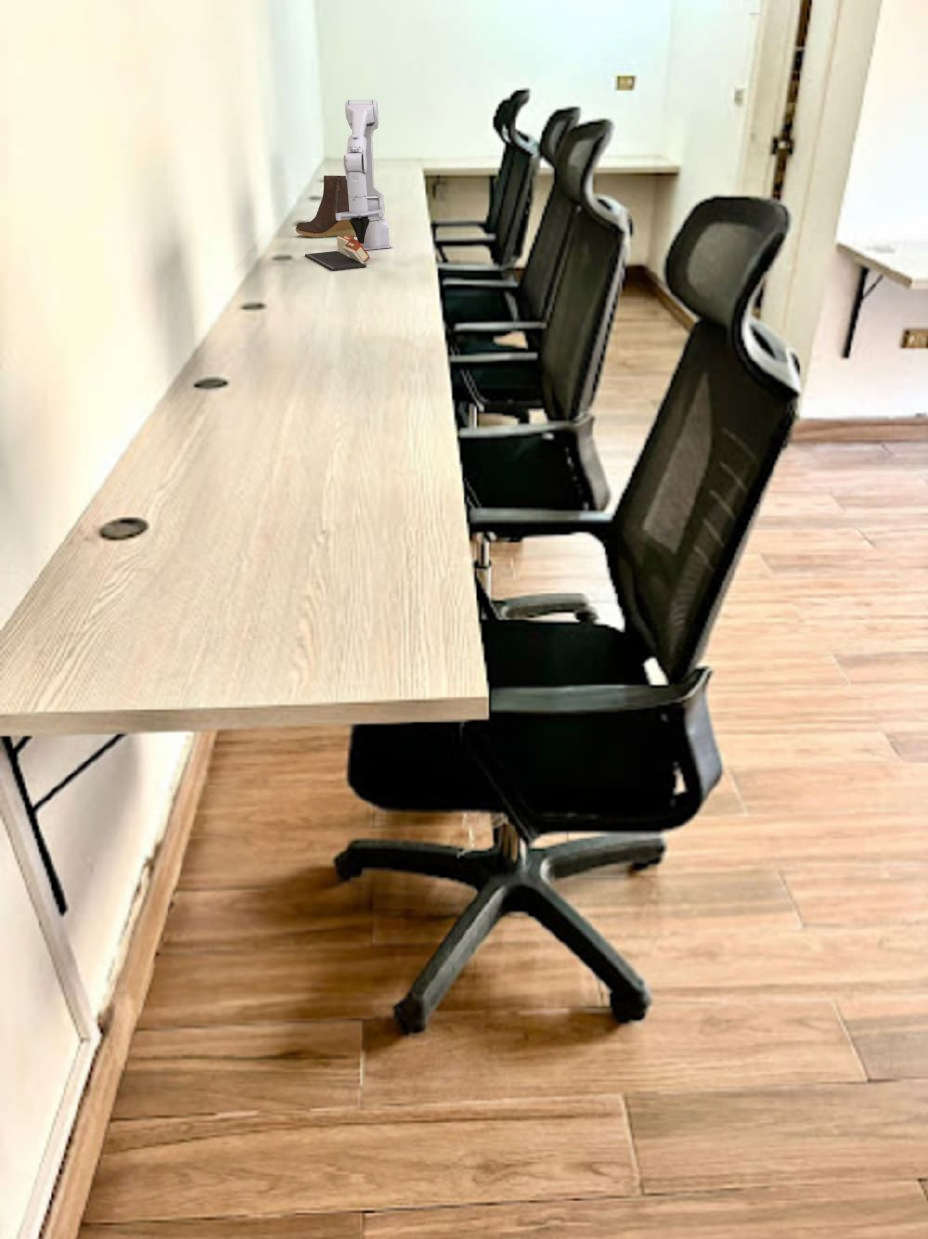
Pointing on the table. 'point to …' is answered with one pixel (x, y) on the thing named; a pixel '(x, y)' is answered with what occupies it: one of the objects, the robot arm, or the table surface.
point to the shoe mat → (335, 261)
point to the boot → (330, 211)
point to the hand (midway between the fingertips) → (361, 243)
